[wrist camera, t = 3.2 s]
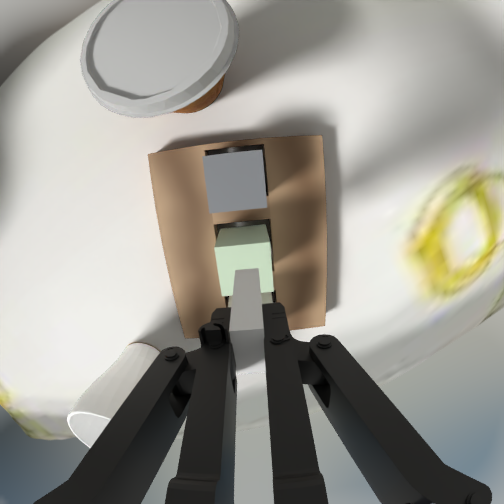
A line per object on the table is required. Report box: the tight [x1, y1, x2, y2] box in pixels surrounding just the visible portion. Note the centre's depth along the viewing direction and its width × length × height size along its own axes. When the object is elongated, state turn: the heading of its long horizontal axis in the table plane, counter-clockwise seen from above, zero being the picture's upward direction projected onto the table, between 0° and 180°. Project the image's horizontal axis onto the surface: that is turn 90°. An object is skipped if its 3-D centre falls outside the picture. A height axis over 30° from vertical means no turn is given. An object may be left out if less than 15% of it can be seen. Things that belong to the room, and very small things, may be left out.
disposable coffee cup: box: [80, 0, 239, 118], centre depth 16 cm, size 10×10×12 cm
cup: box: [67, 343, 164, 462], centre depth 26 cm, size 10×10×14 cm
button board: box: [148, 135, 327, 338], centre depth 26 cm, size 15×19×2 cm
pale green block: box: [214, 224, 274, 296], centre depth 23 cm, size 4×4×5 cm
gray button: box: [202, 150, 267, 214], centre depth 21 cm, size 4×4×5 cm
